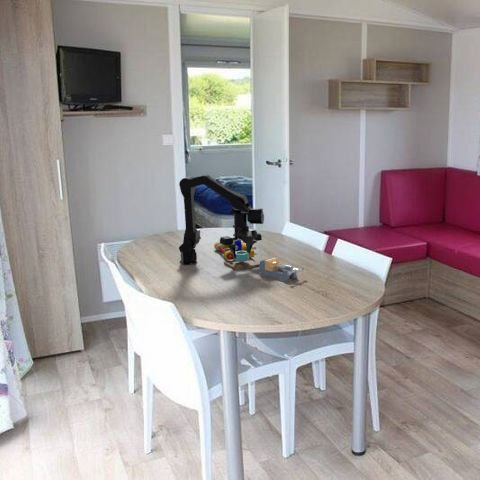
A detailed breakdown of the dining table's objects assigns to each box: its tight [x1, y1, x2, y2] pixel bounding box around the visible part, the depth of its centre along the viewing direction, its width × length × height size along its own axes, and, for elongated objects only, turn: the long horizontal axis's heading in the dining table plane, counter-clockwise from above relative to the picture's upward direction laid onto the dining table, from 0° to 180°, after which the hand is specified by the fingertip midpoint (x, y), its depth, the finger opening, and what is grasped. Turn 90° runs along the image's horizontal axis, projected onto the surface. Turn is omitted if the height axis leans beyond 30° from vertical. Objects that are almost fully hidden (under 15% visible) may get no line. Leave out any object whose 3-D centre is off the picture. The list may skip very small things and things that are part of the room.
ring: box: [233, 251, 250, 262], centre depth 242 cm, size 6×6×3 cm
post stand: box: [223, 258, 260, 271], centre depth 242 cm, size 12×12×5 cm
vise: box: [258, 256, 306, 282], centre depth 225 cm, size 18×10×7 cm, turn 47°
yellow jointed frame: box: [213, 241, 257, 261], centre depth 259 cm, size 18×6×30 cm
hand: (241, 257), depth 242 cm, fingers open, 6 cm apart
